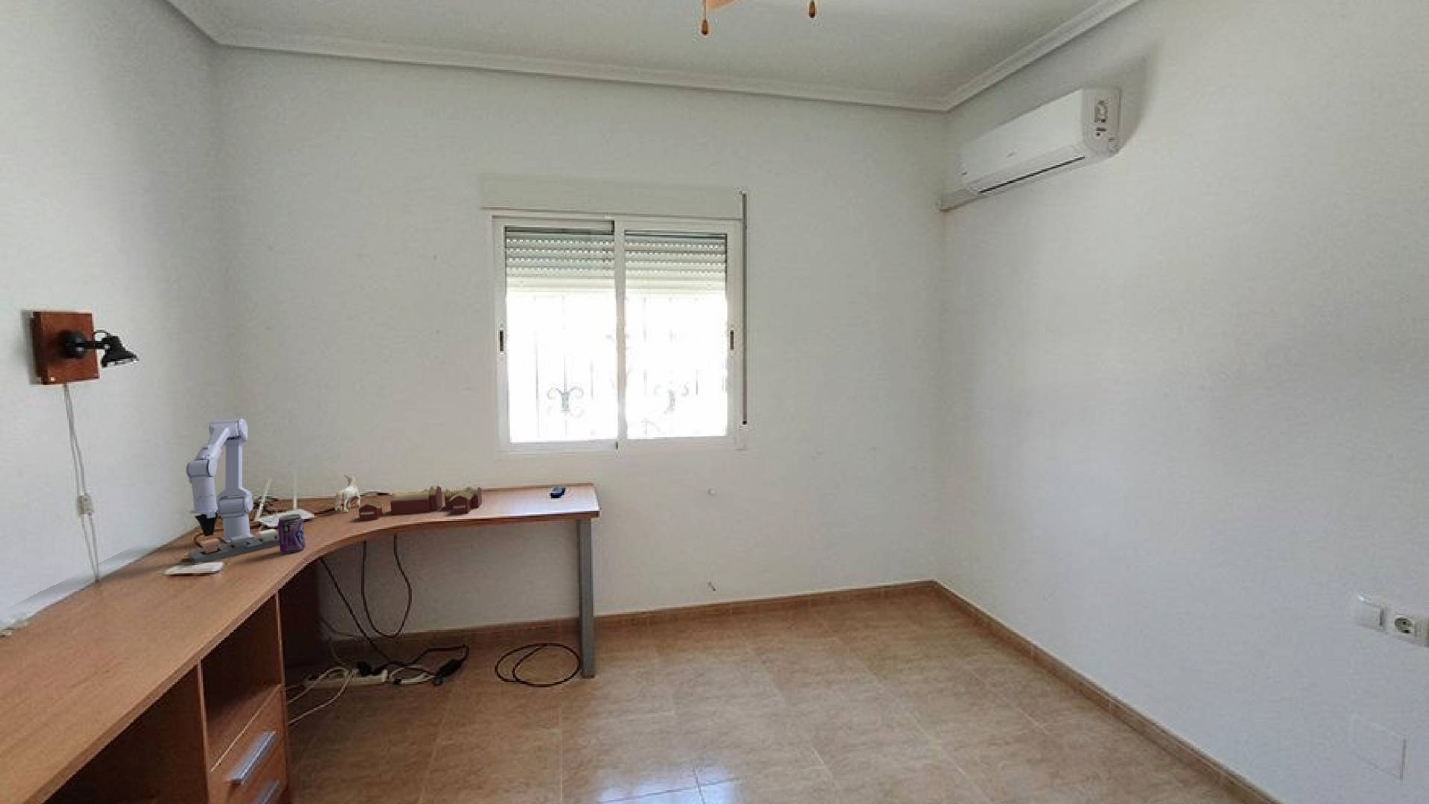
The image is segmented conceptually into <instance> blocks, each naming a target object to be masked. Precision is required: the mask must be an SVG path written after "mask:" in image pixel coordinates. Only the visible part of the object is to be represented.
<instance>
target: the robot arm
mask: <svg viewBox="0 0 1429 804" xmlns="http://www.w3.org/2000/svg"><path fill="white" fill-rule="evenodd" d="M248 429H249V427H248V424H247V421H246V420H245V419H244V418H235V419H220V420H219V419H217V420H216V419H213V420H211V421H210V423H209V425H208V430H209V431H208V432H209V435H210V437H209V440H208V442H207V444H204V445H203V446H201V448H200V449H199V451H198V453H197V454H196V457H195V458H194V460H191V461H190V462H188V463H187V464H186V467H185V468H186V470H185V473H186V477H187V479H188V483H189V484H191V489H192V498H193V499H192V501H193V510H190V511H189V513H190V515H191V514H198V515H195V516H194V518H195V520H196V521H197V523H198V524H199V526H200V528H201V530H202V533H203V536H204V537H211V536H214V534H215V533H214V532H215V526H216V522H217V519H218V517H219V516H220V518H222V526H223V535H224V536H221V538H220V539H222V540H223V541H224V542H226V544H230V543H232V542H231V541H230V538H232V537H237V536H241V535H247V536H249V539H253V538H255V535H253V534H252V533H251V529H250V520H249V513H251V512H252V510H253V508H254V500H253V494H252V491H250V490H248V489H246V488H244V487H243V445H244V443H245V442H247V441H248V437H249V436H248V435H249V432H248V431H249V430H248ZM223 445H224V446H225V489H224V490H222V491H220V492H219V493H218V494H217V493H216V486H215V478H214V476H215V475H216V474H217V467H218V461H219V458H220V456H221V455H222V449H221V448H222V446H223ZM216 494H217V496H216Z"/></svg>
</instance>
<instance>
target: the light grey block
mask: <svg viewBox="0 0 1429 804" xmlns="http://www.w3.org/2000/svg"><path fill="white" fill-rule="evenodd" d="M249 539H250V538H249V536H247V535H241V536H237V537H232V538H230V541H231V542H230V543H234V548H237V547H241V546H246V545H247V541H246V540H249Z"/></svg>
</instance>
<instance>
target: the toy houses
mask: <svg viewBox="0 0 1429 804" xmlns="http://www.w3.org/2000/svg"><path fill="white" fill-rule="evenodd" d="M389 501H390V502H389V503H390V515H391V516H395V515H396V516H397V515H410V514H423V513H424V514H425V513H432V512H438V511H440V509H441V508H442V507H443V504H444V507H445V511H451V513H452V516H453V515H454V516H455V515H465V514H466V515H467V514H469V513H470V512H471V511H472V509H479V508H480V507H481V505H482V504H483V497H482V488H481V487H480V486H475V487H474V486H473V487H472V486H471V487H458V488H457V487H456V488H453V489H452V488H449V489H448V488H446V490H445V492H444V503H443V492H442V487H441V486H439V485H437V486H436V485H435V486H433V485H432V486H430V489H424V490H422V491H415V492H414V491H413V492H412V491H410V492H409V491H408V492H402V493H400V492H398V493H397V492H396V493H392V495H391V497H390V499H389ZM383 506H385V504H384V503H381V502H378V501H376V500H371V501H369V502H367V503H364V504H363V505H360V506H359V507H357V509H356V511H358V516H359V522H364V521H365V522H367V521H378V520H379V519H381V517H383V514H384V513H383Z"/></svg>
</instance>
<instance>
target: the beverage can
mask: <svg viewBox="0 0 1429 804" xmlns="http://www.w3.org/2000/svg"><path fill="white" fill-rule="evenodd" d="M277 533H278V534H279V544H280V545H279V551H280V552H281V553H284V554H292V553H297V551H298V552H300V551H302V550H303V549H305V548H306V540H305V528H304V519H303V518H302V517H301V514H300V513H299V514H298V513H295V514H294V513H293V514H287V515H282V516H280V517H278V521H277Z"/></svg>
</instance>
